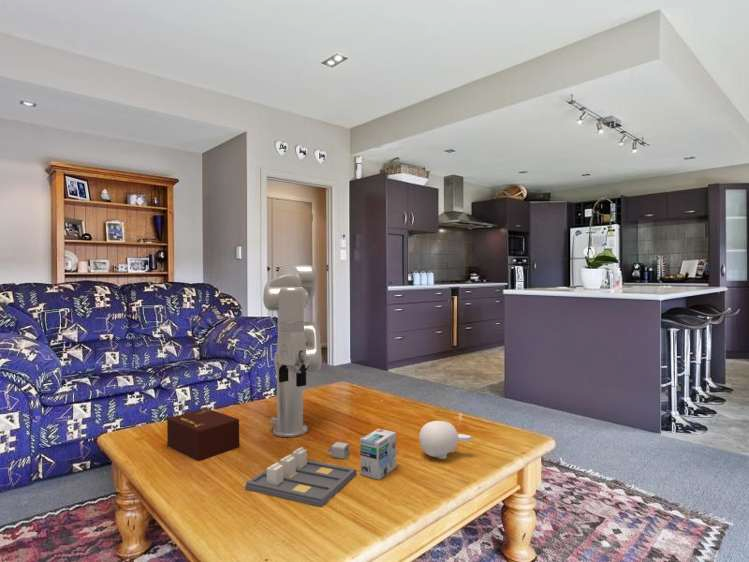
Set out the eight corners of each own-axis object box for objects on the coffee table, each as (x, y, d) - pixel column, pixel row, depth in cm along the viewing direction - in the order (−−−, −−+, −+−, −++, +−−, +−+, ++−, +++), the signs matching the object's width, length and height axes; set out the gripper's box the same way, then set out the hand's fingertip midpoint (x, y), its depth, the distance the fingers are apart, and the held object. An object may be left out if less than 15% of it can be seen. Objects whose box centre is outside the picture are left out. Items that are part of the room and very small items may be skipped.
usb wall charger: (344, 459, 142) (344, 447, 142) (324, 457, 144) (324, 444, 144) (349, 455, 146) (349, 442, 146) (330, 452, 148) (329, 440, 148)
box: (243, 446, 154) (243, 417, 154) (198, 462, 142) (198, 430, 141) (210, 433, 168) (210, 406, 167) (166, 446, 155) (166, 417, 155)
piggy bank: (429, 470, 138) (465, 462, 146) (438, 436, 135) (475, 431, 143) (407, 445, 148) (442, 440, 156) (415, 414, 145) (451, 410, 153)
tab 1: (266, 484, 122) (266, 466, 122) (274, 479, 126) (274, 461, 126) (275, 486, 121) (275, 468, 121) (283, 481, 124) (283, 463, 124)
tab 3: (292, 467, 133) (292, 450, 133) (298, 462, 137) (298, 446, 136) (300, 468, 132) (300, 451, 132) (306, 464, 135) (306, 447, 135)
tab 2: (280, 475, 128) (279, 457, 128) (287, 470, 131) (286, 453, 131) (288, 477, 127) (288, 459, 127) (295, 472, 130) (295, 455, 130)
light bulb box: (379, 480, 127) (378, 443, 127) (359, 475, 131) (359, 438, 131) (397, 467, 136) (397, 431, 136) (378, 462, 140) (378, 427, 140)
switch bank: (245, 489, 123) (245, 482, 123) (287, 461, 141) (287, 455, 141) (321, 507, 113) (321, 500, 113) (356, 474, 131) (356, 468, 131)
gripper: (266, 327, 141) (266, 381, 140) (297, 329, 128) (297, 389, 128) (286, 325, 146) (287, 378, 145) (318, 328, 133) (319, 385, 133)
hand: (292, 383), depth 137 cm, fingers open, 9 cm apart
